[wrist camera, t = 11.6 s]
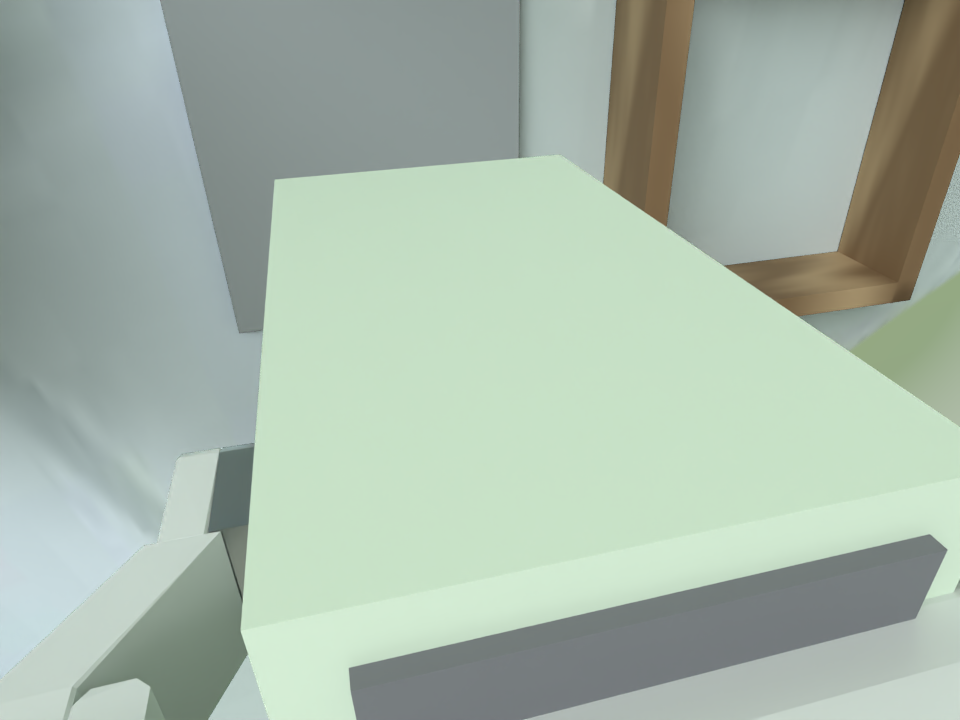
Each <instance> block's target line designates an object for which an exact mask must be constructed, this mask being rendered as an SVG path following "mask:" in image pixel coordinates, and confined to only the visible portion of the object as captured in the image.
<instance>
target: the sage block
mask: <svg viewBox="0 0 960 720" xmlns="http://www.w3.org/2000/svg"><path fill="white" fill-rule="evenodd" d="M959 580H960V427H959V426H958V425H956V424H954V423H953V422H952V421H950V420H949V419H947V418H946V417H945V416H943V415H942V414H940V413H939V412H937V411H936V410H934V409H933V408H931V407H930V406H928V405H927V404H925V403H924V402H922V401H921V400H920V399H918V398H917V397H915V396H914V395H912V394H911V393H909V392H908V391H906V390H905V389H903V388H902V387H901V386H899V385H898V384H896V383H895V382H893V381H891V380H890V379H889V378H887V377H886V376H884V375H883V374H881V373H880V372H878V371H877V370H875V369H874V368H873V367H871V366H870V365H868V364H867V363H865V362H864V361H862V360H861V359H859V358H858V357H856V356H855V355H854V354H852V353H851V352H849V351H848V350H846V349H845V348H843V347H842V346H840V345H839V344H837V343H836V342H834V341H833V340H832V339H830V338H829V337H827V336H826V335H824V334H823V333H821V332H820V331H818V330H817V329H815V328H814V327H812V326H811V325H809V324H808V323H807V322H805V321H804V320H802V319H801V318H799V317H798V316H796V315H795V314H793V313H792V312H790V311H789V310H787V309H786V308H785V307H783V306H782V305H780V304H779V303H777V302H776V301H774V300H773V299H771V298H770V297H768V296H767V295H765V294H764V293H762V292H761V291H760V290H758V289H757V288H755V287H754V286H752V285H751V284H749V283H748V282H746V281H745V280H743V279H742V278H740V277H739V276H738V275H736V274H735V273H733V272H732V271H730V270H729V269H727V268H726V267H724V266H723V265H721V264H720V263H718V262H717V261H716V260H714V259H713V258H711V257H710V256H708V255H707V254H705V253H704V252H702V251H701V250H699V249H698V248H696V247H695V246H693V245H692V244H691V243H689V242H688V241H686V240H685V239H683V238H682V237H680V236H679V235H677V234H676V233H674V232H673V231H671V230H670V229H669V228H667V227H666V226H664V225H663V224H661V223H660V222H658V221H657V220H655V219H654V218H652V217H651V216H649V215H648V214H647V213H645V212H644V211H642V210H641V209H639V208H638V207H636V206H635V205H633V204H632V203H630V202H629V201H627V200H626V199H624V198H623V197H622V196H620V195H619V194H617V193H616V192H614V191H613V190H611V189H610V188H608V187H607V186H605V185H604V184H602V183H601V182H600V181H598V180H597V179H595V178H594V177H592V176H591V175H589V174H588V173H586V172H585V171H583V170H582V169H580V168H579V167H577V166H576V165H575V164H573V163H572V162H570V161H569V160H567V159H566V158H564V157H563V156H561V155H550V156H538V157H527V158H515V159H504V160H492V161H481V162H470V163H458V164H447V165H435V166H424V167H412V168H401V169H390V170H378V171H367V172H355V173H344V174H333V175H321V176H310V177H298V178H287V179H275V181H274V194H273V208H272V221H271V234H270V247H269V261H268V274H267V287H266V300H265V313H264V327H263V340H262V353H261V366H260V380H259V393H258V406H257V419H256V433H255V446H254V459H253V472H252V486H251V499H250V512H249V525H248V538H247V552H246V565H245V578H244V591H243V605H242V618H241V634H242V637H243V640H244V643H245V646H246V649H247V652H248V656H249V659H250V662H251V665H252V668H253V671H254V674H255V677H256V681H257V684H258V687H259V690H260V693H261V696H262V699H263V702H264V706H265V709H266V712H267V715H268V718H269V720H525V719H528V718H532V717H536V716H540V715H544V714H548V713H552V712H556V711H559V710H563V709H567V708H571V707H575V706H579V705H583V704H587V703H590V702H594V701H598V700H602V699H606V698H610V697H614V696H618V695H621V694H625V693H629V692H633V691H637V690H641V689H645V688H649V687H652V686H656V685H660V684H664V683H668V682H672V681H676V680H680V679H684V678H687V677H691V676H695V675H699V674H703V673H707V672H711V671H715V670H718V669H722V668H726V667H730V666H734V665H738V664H742V663H746V662H749V661H753V660H757V659H761V658H765V657H769V656H773V655H777V654H780V653H784V652H788V651H792V650H796V649H800V648H804V647H808V646H811V645H815V644H819V643H823V642H827V641H831V640H835V639H839V638H843V637H846V636H850V635H854V634H858V633H862V632H866V631H870V630H874V629H877V628H881V627H885V626H889V625H893V624H897V623H901V622H905V621H908V620H912V619H916V617H917V614H918V612H919V610H920V608H921V606H922V604H923V602H924V600H925V599H928V598H932V597H936V596H940V595H944V594H948V593H952V592H954V590H955V588H956V586H957V584H958V582H959Z"/></svg>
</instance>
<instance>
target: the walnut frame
mask: <svg viewBox="0 0 960 720" xmlns="http://www.w3.org/2000/svg"><path fill="white" fill-rule="evenodd" d="M694 3H695V0H617V3H616V16H615V30H614V44H613V58H612V72H611V85H610V99H609V113H608V127H607V141H606V154H605V168H604V182H603V184H604V185H605V186H607V187H608V188H610V189H611V190H613V191H614V192H616V193H617V194H619V195H620V196H622V197H623V198H624V199H626V200H627V201H629V202H630V203H632V204H633V205H635V206H636V207H638V208H639V209H641V210H642V211H644V212H645V213H647V214H648V215H649V216H651V217H652V218H654V219H655V220H657V221H658V222H660V223H661V224H663V225H664V226H667V218H668V210H669V202H670V194H671V186H672V178H673V170H674V162H675V154H676V146H677V138H678V130H679V122H680V114H681V106H682V98H683V90H684V82H685V74H686V66H687V58H688V50H689V42H690V34H691V26H692V18H693V11H694ZM959 155H960V0H905V2H904V6H903V10H902V13H901V17H900V21H899V25H898V28H897V32H896V36H895V39H894V43H893V47H892V51H891V54H890V58H889V62H888V66H887V69H886V73H885V77H884V80H883V84H882V88H881V92H880V95H879V99H878V103H877V107H876V110H875V114H874V118H873V121H872V125H871V129H870V133H869V136H868V140H867V144H866V148H865V151H864V155H863V159H862V162H861V166H860V170H859V174H858V177H857V181H856V185H855V189H854V192H853V196H852V200H851V203H850V207H849V211H848V215H847V218H846V222H845V226H844V230H843V233H842V237H841V241H840V244H839V248H838V251H837V252H829V253H821V254H813V255H805V256H797V257H789V258H782V259H774V260H766V261H758V262H750V263H742V264H734V265H726V266H724V267H726V268H727V269H729V270H730V271H732V272H733V273H735V274H736V275H738V276H739V277H740V278H742V279H743V280H745V281H746V282H748V283H749V284H751V285H752V286H754V287H755V288H757V289H758V290H760V291H761V292H762V293H764V294H765V295H767V296H768V297H770V298H771V299H773V300H774V301H776V302H777V303H779V304H780V305H782V306H783V307H785V308H786V309H787V310H789V311H790V312H792V313H793V314H795V315H796V316H803V315H810V314H817V313H824V312H831V311H838V310H845V309H851V308H858V307H865V306H872V305H879V304H886V303H893V302H900V301H906V300H910V298H911V295H912V292H913V290H914V287H915V284H916V281H917V278H918V275H919V272H920V269H921V266H922V263H923V260H924V257H925V254H926V251H927V248H928V246H929V243H930V240H931V237H932V234H933V231H934V228H935V225H936V222H937V219H938V216H939V213H940V210H941V207H942V204H943V202H944V199H945V196H946V193H947V190H948V187H949V184H950V181H951V178H952V175H953V172H954V169H955V166H956V163H957V160H958V158H959Z"/></svg>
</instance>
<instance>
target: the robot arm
mask: <svg viewBox="0 0 960 720" xmlns="http://www.w3.org/2000/svg"><path fill="white" fill-rule="evenodd" d="M254 446H255V443H251V444H244V445H237V446H230V447H223V448H222V449H220V448H216V449H210V450H204V451H197V452H191V453H185V454H182V455H181V456H180V457H179V458H178V459H177V461H176V464H175V468H174V472H173V476H172V480H171V485H170V489H169V493H168V497H167V502H166V506H165V510H164V514H163V518H162V523H161V527H160V531H159V535H158V540H157V543H153V544H148V545H144V546H143V547H142V548H141V549H140V550H138V551H137V552H136V553H135V554H134V555H133V556H132V557H131V558H130V559H129V560H128V561H127V562H126V563H125V564H123V565H122V566H121V567H120V568H119V569H118V570H117V571H116V572H115V573H114V574H113V575H112V576H111V577H110V578H109V579H107V580H106V581H105V582H104V583H103V584H102V585H101V586H100V587H99V588H98V589H97V590H96V591H95V592H94V593H92V594H91V595H90V596H89V597H88V598H87V599H86V600H85V601H84V602H83V603H82V604H81V605H80V606H79V607H78V608H76V609H75V610H74V611H73V612H72V613H71V614H70V615H69V616H68V617H67V618H66V619H65V620H64V621H63V622H61V623H60V624H59V625H58V626H57V627H56V628H55V629H54V630H53V631H52V632H51V633H50V634H49V635H48V636H47V637H45V638H44V639H43V640H42V641H41V642H40V643H39V644H38V645H37V646H36V647H35V648H34V649H33V650H32V651H30V652H29V653H28V654H27V655H26V656H25V657H24V658H23V659H22V660H21V661H20V662H19V663H18V664H17V665H16V666H14V667H13V668H12V669H11V670H10V671H9V672H8V673H7V674H6V675H5V676H4V677H3V678H2V679H1V680H0V720H208V718H209V717H210V715H211V714H212V712H213V710H214V709H215V707H216V705H217V704H218V702H219V700H220V699H221V697H222V696H223V694H224V692H225V691H226V689H227V687H228V686H229V684H230V682H231V681H232V679H233V677H234V676H235V674H236V673H237V671H238V669H239V668H240V666H241V664H242V663H243V661H244V659H245V658H246V656H247V655H248V652H247V649H246V646H245V643H244V640H243V637H242V634H241V618H242V605H243V591H244V578H245V565H246V552H247V538H248V525H249V512H250V499H251V486H252V472H253V459H254ZM525 720H960V580H959V582H958V584H957V586H956V588H955V590H954V592H952V593H948V594H944V595H940V596H936V597H932V598H928V599H925V600H924V602H923V604H922V606H921V608H920V610H919V612H918V614H917V617H916V619H912V620H908V621H905V622H901V623H897V624H893V625H889V626H885V627H881V628H877V629H874V630H870V631H866V632H862V633H858V634H854V635H850V636H846V637H843V638H839V639H835V640H831V641H827V642H823V643H819V644H815V645H811V646H808V647H804V648H800V649H796V650H792V651H788V652H784V653H780V654H777V655H773V656H769V657H765V658H761V659H757V660H753V661H749V662H746V663H742V664H738V665H734V666H730V667H726V668H722V669H718V670H715V671H711V672H707V673H703V674H699V675H695V676H691V677H687V678H684V679H680V680H676V681H672V682H668V683H664V684H660V685H656V686H652V687H649V688H645V689H641V690H637V691H633V692H629V693H625V694H621V695H618V696H614V697H610V698H606V699H602V700H598V701H594V702H590V703H587V704H583V705H579V706H575V707H571V708H567V709H563V710H559V711H556V712H552V713H548V714H544V715H540V716H536V717H532V718H528V719H525Z"/></svg>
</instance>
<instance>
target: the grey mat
mask: <svg viewBox="0 0 960 720" xmlns="http://www.w3.org/2000/svg"><path fill="white" fill-rule="evenodd" d="M160 2H161V6H162V10H163V14H164V18H165V23H166V27H167V31H168V35H169V39H170V44H171V48H172V52H173V56H174V61H175V65H176V69H177V73H178V77H179V82H180V86H181V90H182V94H183V98H184V103H185V107H186V111H187V115H188V119H189V124H190V128H191V132H192V136H193V141H194V145H195V149H196V153H197V157H198V162H199V166H200V170H201V174H202V178H203V183H204V187H205V191H206V195H207V199H208V204H209V208H210V212H211V216H212V221H213V225H214V229H215V233H216V237H217V242H218V246H219V250H220V254H221V258H222V263H223V267H224V271H225V275H226V280H227V284H228V288H229V292H230V296H231V301H232V305H233V309H234V313H235V317H236V322H237V326H238V330H239V333H245V332H252V331H260V330H263V327H264V313H265V300H266V287H267V274H268V261H269V247H270V234H271V221H272V208H273V194H274V181H275V179H287V178H298V177H310V176H321V175H333V174H344V173H355V172H367V171H378V170H390V169H401V168H412V167H424V166H435V165H447V164H458V163H470V162H481V161H492V160H504V159H515V158H519V35H520V0H160Z"/></svg>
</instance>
